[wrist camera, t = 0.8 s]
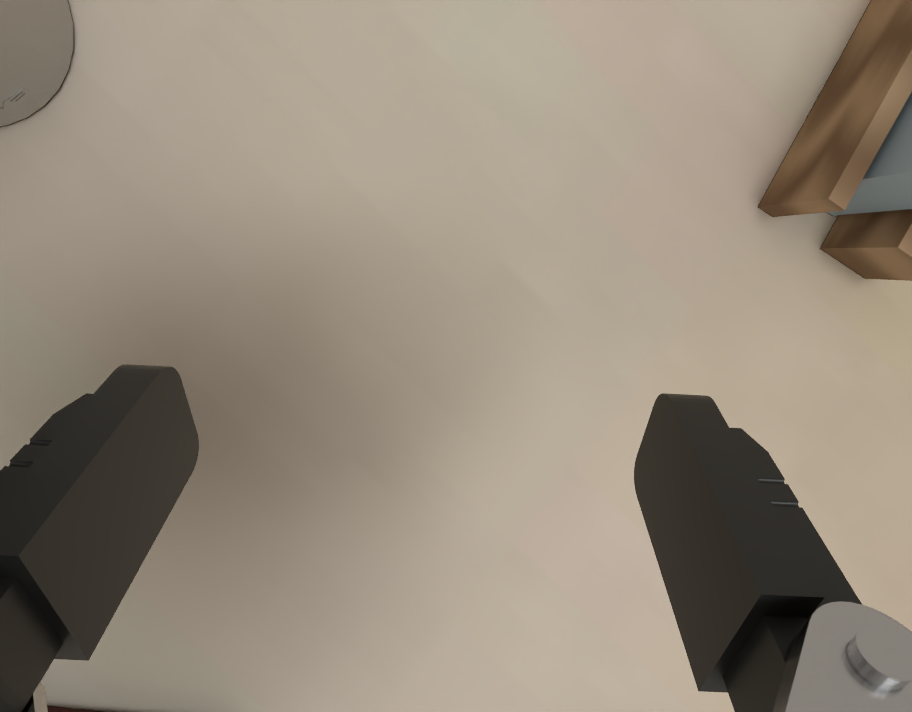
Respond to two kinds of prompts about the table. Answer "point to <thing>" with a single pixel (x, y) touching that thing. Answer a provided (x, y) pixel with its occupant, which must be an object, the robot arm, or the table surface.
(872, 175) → the cover panel
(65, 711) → the book
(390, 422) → the table surface
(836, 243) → the slot box
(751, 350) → the table surface
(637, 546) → the table surface
